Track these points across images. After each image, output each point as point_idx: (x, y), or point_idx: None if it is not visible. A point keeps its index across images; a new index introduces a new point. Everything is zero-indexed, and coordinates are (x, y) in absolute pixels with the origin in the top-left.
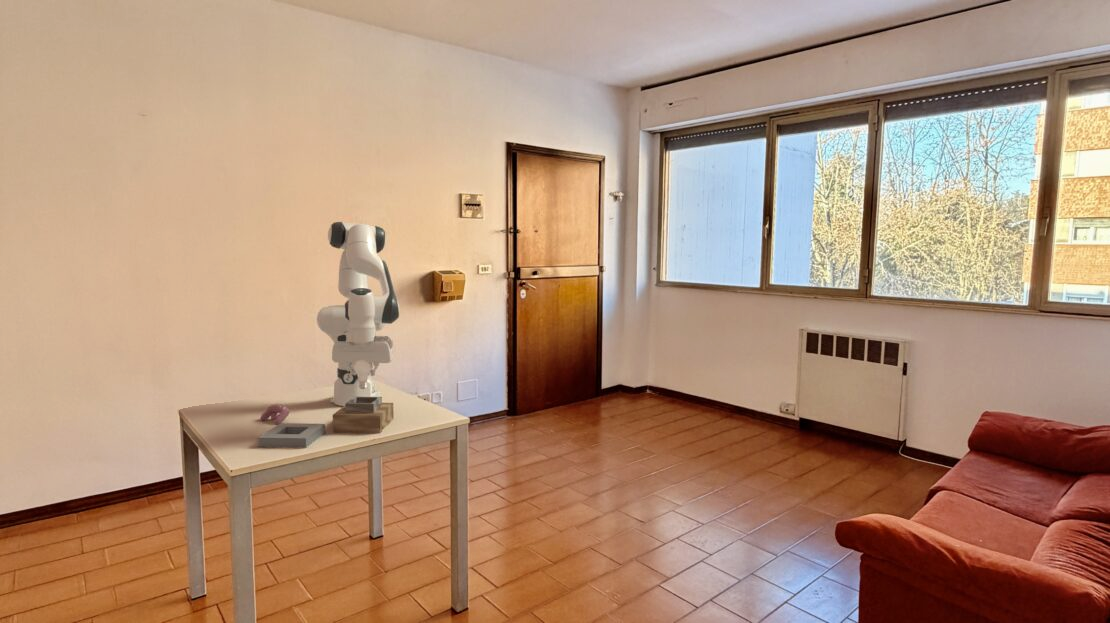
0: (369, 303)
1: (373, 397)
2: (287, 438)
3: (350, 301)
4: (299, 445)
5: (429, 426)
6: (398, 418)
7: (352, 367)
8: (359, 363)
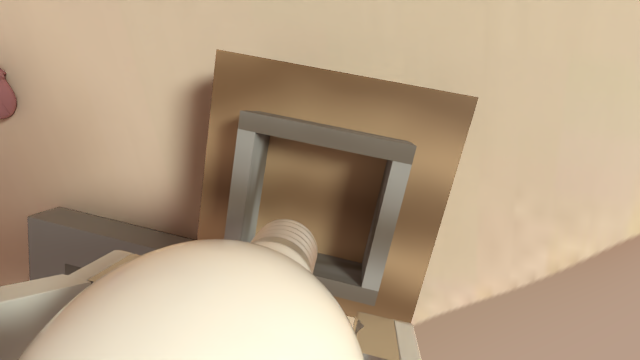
0: None
1: (362, 153)
2: None
3: None
4: None
5: (612, 243)
6: (473, 94)
7: (48, 297)
8: None
